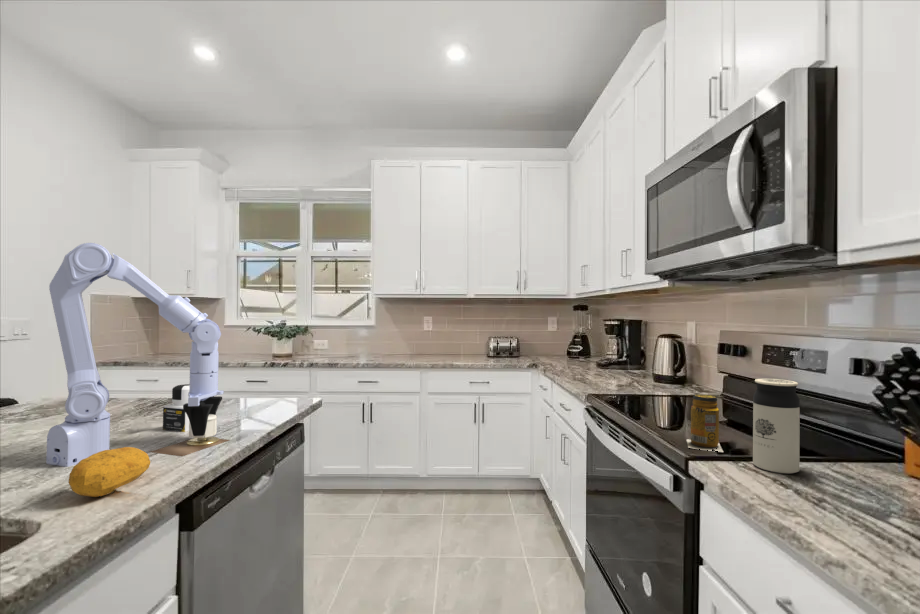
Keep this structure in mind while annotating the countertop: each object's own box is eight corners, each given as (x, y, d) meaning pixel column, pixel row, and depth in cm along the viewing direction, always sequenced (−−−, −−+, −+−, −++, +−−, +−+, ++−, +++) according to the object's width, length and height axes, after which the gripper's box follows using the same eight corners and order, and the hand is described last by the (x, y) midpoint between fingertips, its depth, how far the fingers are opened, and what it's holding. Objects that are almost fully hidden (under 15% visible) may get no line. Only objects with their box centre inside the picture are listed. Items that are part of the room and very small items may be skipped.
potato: (50, 505, 74) (51, 462, 74) (124, 475, 88) (125, 439, 88) (94, 508, 73) (95, 465, 73) (161, 478, 87) (162, 441, 87)
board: (181, 462, 96) (182, 456, 96) (148, 457, 98) (148, 451, 98) (230, 445, 108) (230, 439, 108) (199, 441, 111) (200, 436, 111)
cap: (185, 438, 103) (186, 419, 103) (193, 432, 108) (194, 414, 108) (212, 437, 104) (212, 418, 104) (219, 431, 109) (219, 413, 109)
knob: (202, 447, 102) (202, 432, 102) (179, 444, 104) (179, 430, 104) (225, 439, 108) (225, 425, 108) (203, 437, 110) (203, 423, 110)
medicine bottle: (161, 434, 117) (162, 386, 117) (186, 427, 123) (187, 382, 124) (184, 436, 115) (185, 388, 115) (207, 430, 121) (208, 383, 122)
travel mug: (776, 461, 101) (777, 378, 101) (809, 473, 93) (809, 383, 94) (743, 462, 100) (744, 378, 100) (774, 475, 92) (774, 384, 92)
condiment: (719, 443, 115) (719, 394, 115) (723, 453, 107) (723, 400, 107) (686, 440, 118) (686, 392, 118) (688, 448, 110) (688, 397, 110)
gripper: (214, 376, 100) (213, 439, 100) (231, 368, 114) (230, 423, 114) (177, 376, 98) (176, 441, 98) (199, 368, 113) (198, 425, 112)
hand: (203, 432), depth 106 cm, fingers closed on cap, 5 cm apart
